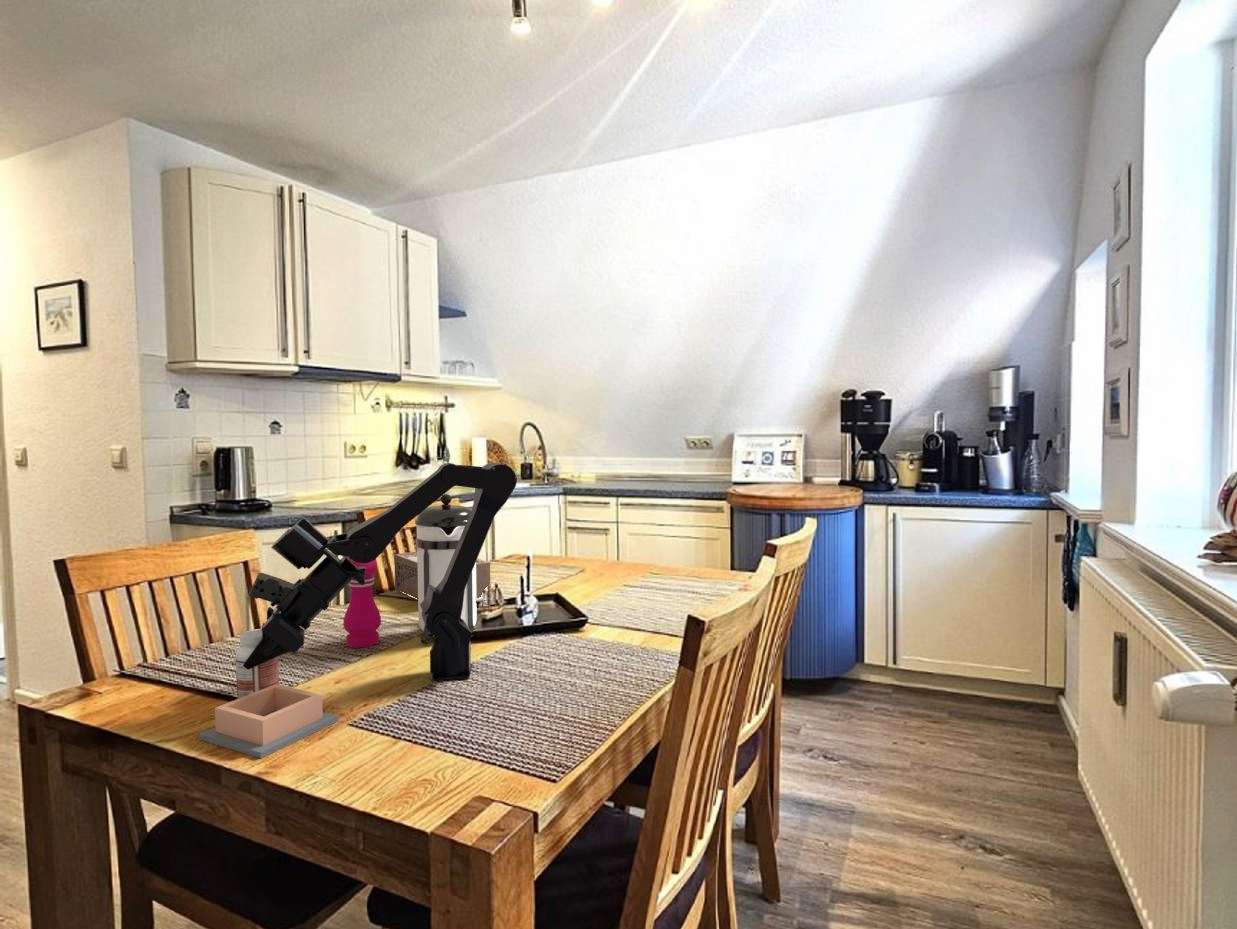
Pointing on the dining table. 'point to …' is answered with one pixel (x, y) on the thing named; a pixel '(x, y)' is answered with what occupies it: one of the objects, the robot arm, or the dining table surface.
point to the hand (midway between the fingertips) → (247, 660)
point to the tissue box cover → (409, 574)
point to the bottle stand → (268, 720)
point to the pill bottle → (257, 675)
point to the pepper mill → (362, 610)
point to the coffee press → (442, 555)
